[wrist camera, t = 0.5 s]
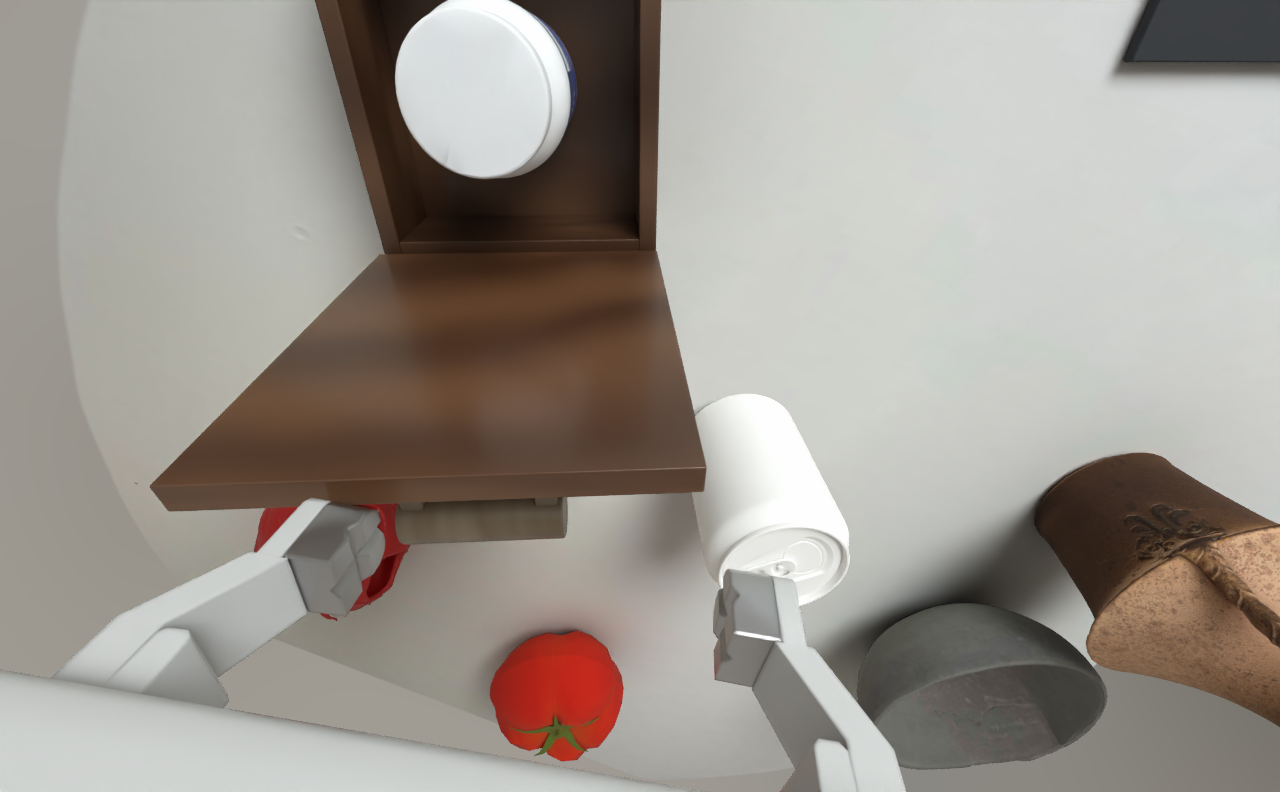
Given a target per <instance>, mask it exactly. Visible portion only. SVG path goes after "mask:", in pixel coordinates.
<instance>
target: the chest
mask: <svg viewBox="0 0 1280 792" xmlns="http://www.w3.org/2000/svg"><path fill="white" fill-rule="evenodd" d="M445 1H447V0H315V2H316V6H317V9H318V13H319V16H320V20H321V24H322V27H323V31H324V35H325V38H326V42H327V45H328V49H329V53H330V56H331V60H332V64H333V67H334V71H335V74H336V78H337V82H338V85H339V89H340V93H341V96H342V100H343V103H344V107H345V111H346V114H347V118H348V122H349V125H350V129H351V132H352V136H353V140H354V143H355V147H356V151H357V154H358V158H359V161H360V165H361V169H362V172H363V176H364V180H365V183H366V187H367V190H368V194H369V198H370V201H371V205H372V209H373V212H374V216H375V220H376V223H377V227H378V230H379V234H380V238H381V241H382V245H383V249H384V252H385V254H444V253H518V252H593V251H656V216H657V170H658V124H659V78H660V32H661V0H509V1H511V2H513V3H516V4H517V5H519V6H521V7H522V8H524V9H525V10H527V11H529V12H530V13H532V14H534V15H535V16H537V17H538V18H540V19H541V20H542V21H544V22H545V23H546V24H547V25H548V26H550V27H551V28H552V29H553V30H554V32H555V33H556V34H557V35H558V36H559V37H560V39H561V40H562V42H563V43H564V45H565V47H566V49H567V51H568V53H569V55H570V57H571V60H572V63H573V66H574V69H575V74H576V81H577V100H576V106H575V110H574V113H573V116H572V119H571V121H570V123H569V125H568V127H567V129H566V131H565V134H564V136H563V138H562V140H561V142H560V143H559V145H558V147H557V148H556V150H555V151H554V152H553V154H552V155H551V156H550V157H549V158H548V159H547V160H546V161H545V162H544V163H542V164H541V165H540V166H538V167H537V168H535V169H534V170H532V171H530V172H528V173H525V174H523V175H519V176H515V177H510V178H493V179H477V178H471V177H466V176H463V175H460V174H458V173H455V172H453V171H451V170H449V169H447V168H445V167H444V166H442V165H441V164H439V163H438V162H437V161H435V160H434V159H433V158H432V157H430V156H429V155H428V154H427V153H426V152H425V151H424V150H423V148H422V147H421V146H420V145H419V144H418V142H417V141H416V140H415V138H414V137H413V135H412V134H411V132H410V130H409V129H408V127H407V125H406V123H405V121H404V118H403V116H402V113H401V110H400V108H399V103H398V99H397V95H396V85H395V71H396V62H397V58H398V54H399V51H400V48H401V45H402V43H403V41H404V39H405V38H406V36H407V34H408V33H409V31H410V30H411V29H412V27H413V26H414V25H415V24H416V23H417V22H418V21H420V20H421V19H422V18H424V17H425V16H426V15H428V14H430V13H431V12H432V11H433V10H434V9H435V8H436V7H438V6H439V5H441V4H442V3H444V2H445Z"/></svg>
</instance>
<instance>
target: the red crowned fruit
mask: <svg viewBox="0 0 1280 792" xmlns="http://www.w3.org/2000/svg"><path fill="white" fill-rule="evenodd" d="M354 506H359V507H364V508H369V509H374V510H378V511H379V515H380V518H381V521H380V523H379V524H378V526H377V528H378V529H379V530H380V531H381V532H382V533H383V534H384V537H385V551H384V554H383V556H382V559H381V562H380V564H379V566H378V567H377V569H376V571H375V572H374V574H373V575H371V576H369V577H368V578H366V579H364V580H363V581H361V583H362V590H363V591H362V593H361V594H360V596H359V597H358V599H357V600H356V602H355V603H354V605H353V607H352V608H351V610H350V611H354V610H357V609H360V608H362V607H363V606H365V605H367V604H369V605H370V604H371V602H373V601H375V600H376V599H378V598H379V597H381V596H382V595H383V593H385V592H386V591H388V590H389V589H390V588H391V586H392V585H393V582H394V578H395V575H396V573H397V570H398V568H399V566H400V563H401V560H402V558H403V556H404V554H405V553H406V552H407V551H408V548H409V547H410V545H411V544H407V545H405V544H402V543H401V542H400V541H399V540H398V537H397V534H396V528H395V517H396V510H397V506H398V503H388V504H360V505H354ZM297 508H298V507H279V508H266V509H265V510H264V512H263V514H262V516H261V519H260V524H259V528H258V536H257V539H256V544H255V548H254V551H255V553H257V552H258V551H259V549H260V548H261V547H262V546H263V545H264V544H265V543H266V542H267V541H268V540H269V539H270V537H271V536H272V535H273V534H274V533H275V532H276V531H277V530H278V529H279V528H280V527H281V525H282V524H283V523H284V522H285V521H286V520H287V519H288V518H289V517H290V516H291V515H292V513H293V512H294V511H295V510H296V509H297ZM320 614H321V615H322V616H323V617H325V618H327V619H334V620H336V621H337V618H334V617H330V615H329V614H323V613H320Z"/></svg>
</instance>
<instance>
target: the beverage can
mask: <svg viewBox="0 0 1280 792" xmlns="http://www.w3.org/2000/svg"><path fill="white" fill-rule="evenodd" d="M695 419H696V423H697V427H698V431H699V436H700V440H701V444H702V449H703V453H704V457H705V462H706V466H707V470H706V479H705V488H704V492H692V497H693V502H694V507H695V512H696V517H697V522H698V527H699V533H700V538H701V543H702V548H703V553H704V558H705V562H706V566H707V569H708V571H709V573H710V575H711V576H712V578H713V579H714V580H715V581H716V583H717V584H718V585H719V586H720V588H721V589H722V588H723V576H724V574H725V571H726V570H727V569H735V570H741V571H748V572H754V573H760V574H767V575H770V576H776V577H782V578H788V579H793V581H794V582H795V584H796V590H797V595H798V600H799V605H800V606H803V605H806V604H808V603H811V602H813V601H815V600H817V599H819V598H821V597H823V596H824V595H826V594H827V593H829V592H830V591H831V590H832V589H834V588H835V587H836V586H837V585H838V584H839V583H840V581H841V580H842V579H843V577H844V576H845V574H846V572H847V570H848V567H849V563H850V555H849V550H848V547H849V533H848V528H847V525H846V523H845V521H844V519H843V517H842V515H841V513H840V511H839V509H838V507H837V505H836V503H835V501H834V499H833V497H832V496H831V494H830V492H829V490H828V488H827V486H826V484H825V482H824V480H823V478H822V476H821V474H820V472H819V470H818V468H817V466H816V464H815V462H814V460H813V459H812V457H811V455H810V453H809V451H808V449H807V447H806V445H805V443H804V441H803V439H802V437H801V435H800V433H799V431H798V429H797V427H796V425H795V423H794V421H793V420H792V418H791V416H790V414H789V413H788V411H787V410H786V409H785V408H784V407H783V406H782V405H781V404H779V403H778V402H776V401H774V400H772V399H770V398H768V397H765V396H761V395H755V394H738V395H732V396H728V397H724V398H722V399H719V400H717V401H715V402H713V403H711V404H709V405H708V406H706V407H705V408H703V409H702V410H701V411H700V412H699V413H698V414H697V415H696V416H695Z"/></svg>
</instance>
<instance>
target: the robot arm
mask: <svg viewBox="0 0 1280 792" xmlns="http://www.w3.org/2000/svg"><path fill="white" fill-rule="evenodd" d="M380 521H381V518H380V515H379V511H378V510H374V509H369V508H364V507H359V506H354V505H349V504H344V503H338V502H333V501H328V500H322V499H317V498H309V499H308V500H306V501H304V502H303V503H302V504H301V505H300V506H299V507H298V508H297V509H296V510H295V511H294V512H293V513H292V515H291V516H290V517H289V518H288V519H287V520H286V521H285V522H284V523H283V524H282V525H281V527H280V528H279V529H278V530H277V531H276V532H275V533H274V534H273V535H272V536H271V537H270V539H269V540H268V541H267V542H266V543H265V544H264V545H263V546H262V547H261V548H260V549H259V551H258V552H257V553H255V552H248V553H246V554H244V555H242V556H240V557H238V558H236V559H234V560H232V561H230V562H228V563H226V564H223V565H221V566H219V567H217V568H215V569H213V570H211V571H209V572H207V573H205V574H203V575H201V576H198V577H196V578H194V579H192V580H190V581H188V582H186V583H184V584H182V585H180V586H178V587H176V588H174V589H172V590H169V591H167V592H165V593H163V594H161V595H159V596H157V597H155V598H153V599H151V600H149V601H147V602H145V603H142V604H140V605H138V606H136V607H134V608H132V609H130V610H128V611H126V612H124V613H122V614H119V615H117V616H116V617H115V618H114V619H113V620H112V621H111V622H110V623H109V624H108V625H107V626H106V627H104V628H103V629H102V630H101V631H100V632H99V633H98V634H97V635H96V636H95V637H94V638H93V639H92V640H91V641H90V642H88V643H87V644H86V645H85V646H84V647H83V648H82V649H81V650H80V651H79V652H78V653H77V654H76V655H75V656H74V657H73V658H72V659H70V660H69V661H68V662H67V663H66V664H65V665H64V666H63V667H62V668H61V669H60V670H59V671H58V672H57V673H55V674H54V675H53V676H52V677H51V678H46V677H40V676H35V675H29V674H23V673H17V672H11V671H5V670H0V792H705V791H699V790H694V789H688V788H682V787H677V786H670V785H665V784H659V783H654V782H648V781H642V780H636V779H630V778H625V777H618V776H613V775H607V774H601V773H595V772H590V771H584V770H578V769H573V768H567V767H561V766H555V765H550V764H544V763H538V762H532V761H526V760H521V759H515V758H509V757H503V756H498V755H492V754H486V753H480V752H474V751H469V750H463V749H457V748H451V747H446V746H440V745H434V744H428V743H422V742H417V741H411V740H405V739H400V738H394V737H388V736H382V735H376V734H370V733H365V732H358V731H353V730H347V729H342V728H336V727H330V726H324V725H318V724H312V723H307V722H301V721H295V720H289V719H283V718H278V717H272V716H266V715H260V714H255V713H249V712H243V711H237V710H232V709H226V708H224V707H225V706H226V704H227V703H228V701H229V700H228V694H227V692H226V691H225V689H224V687H223V686H222V684H221V682H220V681H219V679H218V677H219V676H220V675H222V674H223V673H225V672H226V671H228V670H229V669H231V668H232V667H233V666H235V665H236V664H237V663H239V662H240V661H242V660H243V659H245V658H246V657H247V656H249V655H250V654H252V653H253V652H254V651H256V650H257V649H259V648H260V647H261V646H263V645H264V644H266V643H267V642H268V641H270V640H271V639H273V638H274V637H276V636H277V635H278V634H280V633H281V632H283V631H284V630H285V629H287V628H288V627H290V626H291V625H292V624H294V623H295V622H297V621H298V620H299V619H301V618H302V617H304V616H305V615H307V614H308V612H307V611H309V612H316V613H323V614H330V615H337V616H344V617H346V616H347V614H348V613H349V611H350V610H351V608H352V607H353V605H354V603H355V602H356V600H357V599H358V597H359V596H360V594H361V593H362V591H363V590H362V583H361V581H363V580H364V579H366V578H368V577H369V576H371V575H373V574H374V572H375V571H376V569H377V567H378V566H379V564H380V562H381V559H382V556H383V554H384V551H385V537H384V534H383V533H382V532H381V531H380V530H379V529H378V528H377V526H378V524H379V523H380ZM713 632H714V634H715V635H716V637H717V638H718V641H717V643H716V646H715V649H714V672H715V680H718V681H723V682H728V683H733V684H738V685H743V686H748V687H753V688H752V690H753V692H754V694H755V696H756V698H757V700H758V701H759V703H760V705H761V707H762V709H763V711H764V712H765V714H766V716H767V718H768V720H769V722H770V723H771V725H772V727H773V729H774V731H775V733H776V734H777V736H778V738H779V740H780V742H781V743H782V745H783V747H784V749H785V751H786V753H787V754H788V756H789V758H790V760H791V762H792V764H793V765H794V767H795V769H796V770H795V771H794V773H793V774H792V776H791V777H790V778H789V780H788V781H787V783H786V784H785V786H784V787H783V788H782V790H781V791H780V792H906V789H905V786H904V782H903V779H902V775H901V772H900V768H899V765H898V761H897V758H896V754H895V751H894V749H893V748H892V746H891V745H890V744H889V743H888V741H887V740H886V739H885V738H884V736H883V735H882V734H881V732H880V731H879V730H878V729H877V727H876V726H875V725H874V724H873V722H872V721H871V720H870V718H869V717H868V716H867V715H866V713H865V712H864V711H863V710H862V708H861V707H860V706H859V704H858V703H857V702H856V701H855V699H854V698H853V697H852V696H851V694H850V693H849V692H848V690H847V689H846V688H845V687H844V685H843V684H842V683H841V682H840V680H839V679H838V678H837V676H836V675H835V674H834V673H833V671H832V670H831V669H830V668H829V666H828V665H827V664H826V662H825V661H824V660H823V659H822V657H821V656H820V655H819V653H818V652H817V651H816V650H815V648H813V647H808V646H807V642H806V636H805V631H804V626H803V621H802V616H801V610H800V605H799V600H798V595H797V590H796V584H795V582H794V581H793V579H788V578H782V577H776V576H770V575H767V574H760V573H754V572H748V571H741V570H735V569H727V570H726V571H725V574H724V576H723V588H722V589H720V590H719V591H718V594H717V597H716V601H715V607H714V615H713Z"/></svg>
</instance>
